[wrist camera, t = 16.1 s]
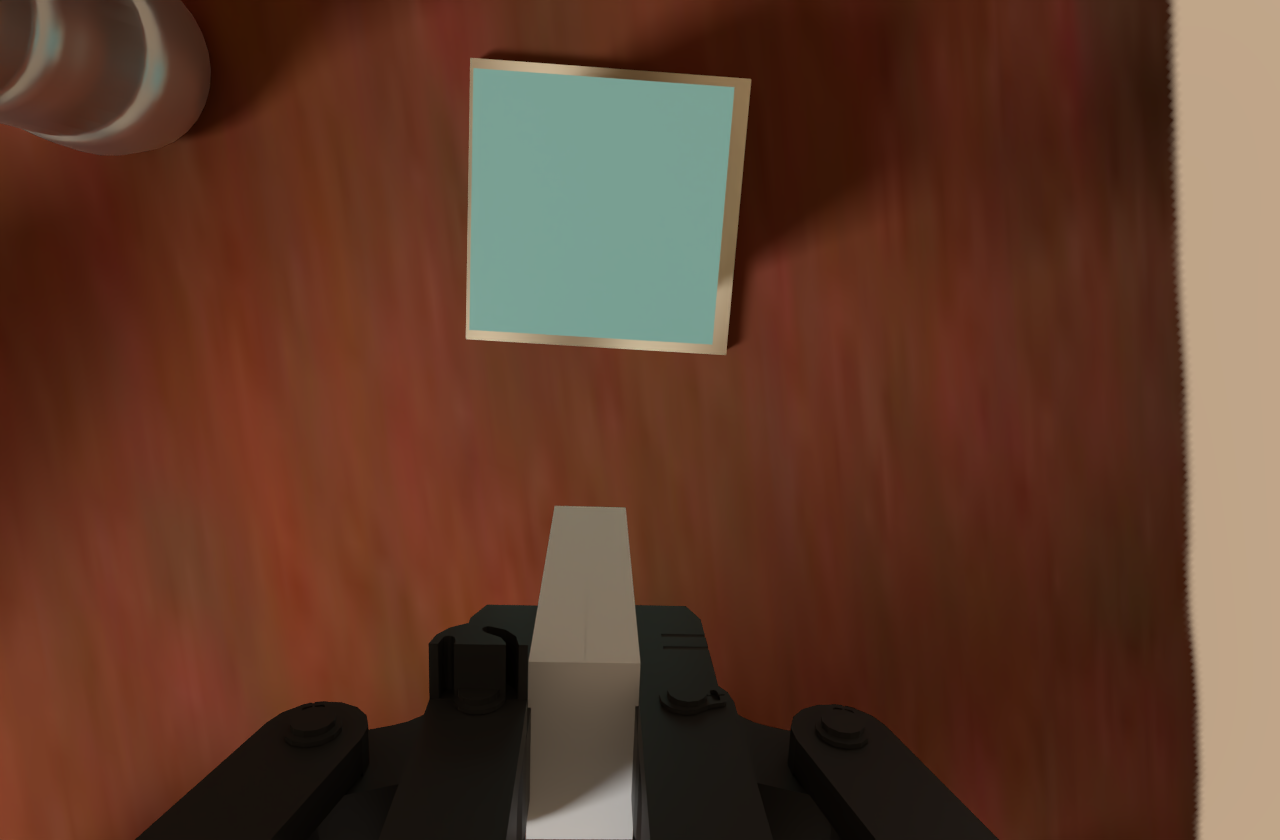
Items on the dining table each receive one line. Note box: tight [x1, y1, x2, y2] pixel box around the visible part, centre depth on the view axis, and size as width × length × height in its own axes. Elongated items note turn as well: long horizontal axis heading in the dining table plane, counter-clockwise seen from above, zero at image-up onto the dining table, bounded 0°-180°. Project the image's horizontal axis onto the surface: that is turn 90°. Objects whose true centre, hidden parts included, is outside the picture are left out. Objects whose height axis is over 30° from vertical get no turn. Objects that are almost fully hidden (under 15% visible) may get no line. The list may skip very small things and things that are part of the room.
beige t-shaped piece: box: [466, 58, 751, 355], centre depth 26 cm, size 10×10×10 cm
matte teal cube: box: [469, 68, 735, 345], centre depth 25 cm, size 6×6×9 cm
